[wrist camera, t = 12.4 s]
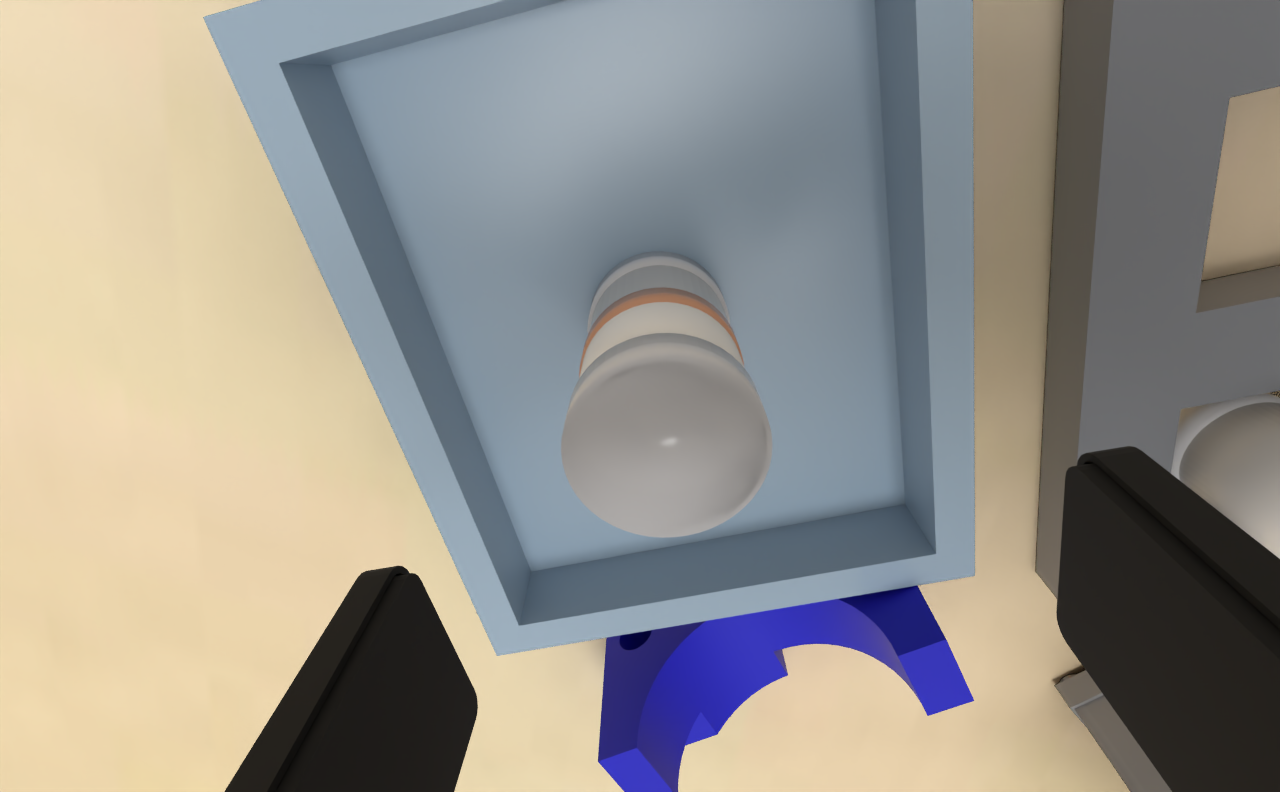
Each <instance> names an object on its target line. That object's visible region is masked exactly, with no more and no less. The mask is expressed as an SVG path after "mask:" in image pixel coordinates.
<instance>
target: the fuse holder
mask: <svg viewBox="0 0 1280 792" xmlns="http://www.w3.org/2000/svg"><path fill="white" fill-rule="evenodd" d="M1278 86H1280V0H1064V20H1063V39H1062V59H1061V79H1060V99H1059V119H1058V139H1057V158H1056V178H1055V198H1054V218H1053V238H1052V258H1051V277H1050V297H1049V317H1048V337H1047V357H1046V377H1045V396H1044V416H1043V436H1042V456H1041V476H1040V495H1039V515H1038V535H1037V555H1036V573H1037V574H1038V575H1039V577H1040V578H1041V579H1042V580H1043V582H1044V583H1045V584H1046V585H1047V587H1048V588H1049V589H1050V590H1051V592H1052V593H1053V594H1054V595H1055V597H1056V598H1057V599H1058V583H1059V567H1060V551H1061V536H1062V520H1063V504H1064V488H1065V476H1066V471H1067V470H1068V468H1070V467H1072V466H1077V462H1078V459H1079V458H1080V456H1081V455H1083V454H1085V453H1089V452H1095V451H1101V450H1107V449H1113V448H1119V447H1126V446H1133V447H1136V448H1138V449H1140V450H1141V451H1143V452H1144V453H1145V454H1147V455H1148V456H1149V457H1150V458H1152V459H1153V460H1154V461H1156V462H1157V463H1158V464H1159V465H1161V466H1162V467H1163V468H1164V469H1166V470H1167V471H1168V472H1170V473H1171V469H1172V463H1173V457H1174V450H1175V444H1176V437H1177V431H1178V425H1179V418H1180V412H1181V409H1185V408H1190V407H1195V406H1201V405H1206V404H1211V403H1217V402H1222V401H1227V400H1233V399H1238V398H1243V397H1249V396H1254V395H1259V394H1265V393H1270V392H1275V391H1280V265H1279V266H1274V267H1269V268H1264V269H1259V270H1254V271H1250V272H1245V273H1240V274H1235V275H1230V276H1225V277H1220V278H1216V279H1211V280H1206V281H1201V278H1202V271H1203V265H1204V258H1205V252H1206V246H1207V239H1208V233H1209V226H1210V220H1211V214H1212V207H1213V201H1214V194H1215V188H1216V182H1217V175H1218V169H1219V162H1220V156H1221V150H1222V143H1223V137H1224V131H1225V124H1226V118H1227V111H1228V105H1229V99H1230V98H1231V97H1235V96H1239V95H1244V94H1248V93H1252V92H1256V91H1261V90H1265V89H1269V88H1274V87H1278Z"/></svg>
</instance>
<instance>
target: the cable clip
mask: <svg viewBox="0 0 1280 792" xmlns="http://www.w3.org/2000/svg"><path fill="white" fill-rule="evenodd" d="M804 644H831V645H839V646H843V647H848V648H852V649H855V650H858V651H861V652H863V653H865V654H868V655H870V656H872V657H874V658H876V659H877V660H879V661H881V662H882V663H884V664H886V665H887V666H888V667H889V668H891V669H892V670H893V671H895V672H896V673H897V674H898V675H899V676H900V677H901V678H902V679H903V680H904V681H905V682H906V683H907V684H908V685H909V687H910V688H911V689H912V690H913V691H914V693H915V694H916V696H917V697H918V699H919V700H920V702H921V703H922V705H923V707H924V709H925V711H926V713H927V715H928V716H929V715H932V714H935V713H938V712H941V711H944V710H947V709H950V708H953V707H956V706H959V705H962V704H966V703H969V702H972V701H974V699H973V697H972V695H971V693H970V691H969V688H968V686H967V684H966V682H965V680H964V677H963V675H962V673H961V671H960V669H959V666H958V664H957V662H956V660H955V658H954V656H953V653H952V651H951V649H950V647H949V645H948V642H947V640H946V638H945V636H944V635H943V633H942V631H941V629H940V627H939V625H938V623H937V621H936V620H935V618H934V616H933V614H932V612H931V610H930V608H929V607H928V605H927V603H926V601H925V599H924V597H923V595H922V594H921V592H920V590H919V588H918V586H911V587H905V588H899V589H893V590H887V591H881V592H875V593H869V594H863V595H857V596H852V597H846V598H840V599H834V600H828V601H822V602H816V603H810V604H804V605H798V606H792V607H786V608H780V609H774V610H768V611H762V612H756V613H750V614H744V615H738V616H732V617H726V618H720V619H714V620H708V621H702V622H696V623H690V624H684V625H679V626H673V627H667V628H661V629H655V630H649V631H643V632H637V633H631V634H625V635H619V636H613V637H607V639H606V654H605V668H604V682H603V697H602V711H601V726H600V740H599V754H598V762H599V763H600V764H601V765H602V767H603V768H604V769H605V770H606V771H607V772H608V773H609V775H610V776H611V777H612V778H613V779H614V780H615V781H616V782H617V784H618V785H619V786H620V787H621V788H622V789H623V790H624V792H678V778H679V769H680V763H681V758H682V754H683V751H684V747H685V745H688V744H691V743H694V742H697V741H700V740H703V739H705V738H708V737H711V736H714V735H717V734H718V732H719V731H720V729H721V728H722V726H723V725H724V724H725V722H726V721H727V720H728V718H729V717H730V716H731V715H732V714H733V712H734V711H735V710H736V709H737V708H738V707H739V706H740V705H741V704H742V703H743V702H744V701H745V700H747V699H748V698H749V697H750V696H751V695H753V694H754V693H756V692H757V691H758V690H760V689H761V688H763V687H765V686H766V685H768V684H770V683H771V682H773V681H776V680H778V679H780V678H782V677H785V676H787V675H788V673H787V669H786V665H785V661H784V656H783V652H782V649H784V648H787V647H791V646H797V645H804Z"/></svg>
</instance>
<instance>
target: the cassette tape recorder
mask: <svg viewBox="0 0 1280 792" xmlns="http://www.w3.org/2000/svg"><path fill="white" fill-rule="evenodd" d="M1054 686H1055V687H1056V689H1057V690H1058V691H1059V693H1060V694H1061V696H1062V697H1063V699H1064V700H1065V702H1066V703H1067V705H1068V706H1069V708H1070V709H1071V710H1072V711H1073V712H1074V714H1075V715H1076V716H1077V717H1078V718H1079V719H1080V720H1081V722H1082V723H1083V724H1084V725H1085V726H1086V727H1087V728H1088V730H1089V731H1090V733H1091V734H1092V736H1093V737H1094V739H1095V740H1096V742H1097V743H1098V745H1099V746H1100V748H1101V749H1102V750H1103V752H1104V753H1105V755H1106V756H1107V758H1108V759H1109V761H1110V762H1111V764H1112V765H1113V767H1114V768H1115V769H1116V771H1117V772H1118V774H1119V775H1120V777H1121V778H1122V780H1123V781H1124V783H1125V784H1126V786H1127V787H1128V788H1129V790H1130V791H1131V792H1172V791H1171V790H1170V788H1169V787H1168V785H1167V784H1166V782H1165V781H1164V780H1163V778H1162V777H1161V775H1160V774H1159V773H1158V771H1157V770H1156V768H1155V767H1154V765H1153V764H1152V763H1151V761H1150V760H1149V758H1148V757H1147V756H1146V754H1145V753H1144V751H1143V750H1142V749H1141V747H1140V746H1139V744H1138V743H1137V741H1136V740H1135V739H1134V737H1133V736H1132V734H1131V733H1130V732H1129V730H1128V729H1127V727H1126V726H1125V725H1124V723H1123V722H1122V720H1121V719H1120V717H1119V716H1118V715H1117V713H1116V712H1115V710H1114V709H1113V708H1112V706H1111V705H1110V703H1109V702H1108V701H1107V699H1106V698H1105V696H1104V695H1103V693H1102V692H1101V691H1100V689H1099V688H1098V686H1097V685H1096V684H1095V682H1094V681H1093V679H1092V678H1091V677H1090V675H1089V674H1088V672H1087V671H1086V670H1085V671H1083V672H1081V673H1079V674H1077V675H1074V674H1072V675H1068V676H1065V677H1064V678H1062V679H1061V680H1060V682H1059V683H1058V684H1056V685H1054Z"/></svg>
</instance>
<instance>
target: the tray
mask: <svg viewBox="0 0 1280 792" xmlns="http://www.w3.org/2000/svg"><path fill="white" fill-rule="evenodd" d="M203 18H204V20H205V23H206V25H207V27H208V29H209V31H210V33H211V36H212V38H213V40H214V42H215V44H216V46H217V49H218V51H219V53H220V55H221V57H222V59H223V62H224V64H225V66H226V68H227V70H228V72H229V75H230V77H231V79H232V81H233V83H234V86H235V88H236V90H237V92H238V94H239V96H240V99H241V101H242V103H243V105H244V107H245V109H246V112H247V114H248V116H249V118H250V120H251V122H252V125H253V127H254V129H255V131H256V133H257V135H258V138H259V140H260V142H261V144H262V146H263V149H264V151H265V153H266V155H267V157H268V159H269V162H270V164H271V166H272V168H273V170H274V172H275V175H276V177H277V179H278V181H279V183H280V185H281V188H282V190H283V192H284V194H285V196H286V199H287V201H288V203H289V205H290V207H291V209H292V212H293V214H294V216H295V218H296V220H297V222H298V225H299V227H300V229H301V231H302V233H303V235H304V238H305V240H306V242H307V244H308V246H309V248H310V251H311V253H312V255H313V257H314V259H315V262H316V264H317V266H318V268H319V270H320V272H321V275H322V277H323V279H324V281H325V283H326V285H327V288H328V290H329V292H330V294H331V296H332V298H333V301H334V303H335V305H336V307H337V309H338V312H339V314H340V316H341V318H342V320H343V322H344V325H345V327H346V329H347V331H348V333H349V335H350V338H351V340H352V342H353V344H354V346H355V348H356V351H357V353H358V355H359V357H360V359H361V361H362V364H363V366H364V368H365V370H366V372H367V375H368V377H369V379H370V381H371V383H372V385H373V388H374V390H375V392H376V394H377V396H378V398H379V401H380V403H381V405H382V407H383V409H384V411H385V414H386V416H387V418H388V420H389V422H390V424H391V427H392V429H393V431H394V433H395V435H396V438H397V440H398V442H399V444H400V446H401V448H402V451H403V453H404V455H405V457H406V459H407V461H408V464H409V466H410V468H411V470H412V472H413V474H414V477H415V479H416V481H417V483H418V485H419V488H420V490H421V492H422V494H423V496H424V498H425V501H426V503H427V505H428V507H429V509H430V511H431V514H432V516H433V518H434V520H435V522H436V524H437V527H438V529H439V531H440V533H441V535H442V537H443V540H444V542H445V544H446V546H447V548H448V551H449V553H450V555H451V557H452V559H453V561H454V564H455V566H456V568H457V570H458V572H459V574H460V577H461V579H462V581H463V583H464V585H465V587H466V590H467V592H468V594H469V596H470V598H471V601H472V603H473V605H474V607H475V609H476V611H477V614H478V616H479V618H480V620H481V622H482V624H483V627H484V629H485V631H486V633H487V635H488V637H489V640H490V642H491V644H492V646H493V648H494V650H495V653H496V655H497V656H500V655H505V654H511V653H517V652H523V651H529V650H535V649H541V648H547V647H553V646H559V645H565V644H571V643H577V642H583V641H589V640H595V639H601V638H607V637H613V636H619V635H625V634H631V633H637V632H643V631H649V630H655V629H661V628H667V627H673V626H679V625H684V624H690V623H696V622H702V621H708V620H714V619H720V618H726V617H732V616H738V615H744V614H750V613H756V612H762V611H768V610H774V609H780V608H786V607H792V606H798V605H804V604H810V603H816V602H822V601H828V600H834V599H840V598H846V597H852V596H857V595H863V594H869V593H875V592H881V591H887V590H893V589H899V588H905V587H911V586H917V585H923V584H929V583H935V582H941V581H947V580H953V579H959V578H965V577H971V576H975V478H974V182H973V0H260V1H257V2H253V3H250V4H246V5H243V6H239V7H236V8H233V9H229V10H226V11H222V12H219V13H215V14H212V15H208V16H205V17H203ZM652 251H664V252H672V253H676V254H680V255H683V256H685V257H688V258H690V259H692V260H694V261H695V262H697V263H698V264H700V265H701V266H702V267H704V268H705V269H706V270H707V271H708V272H709V273H710V274H711V276H712V277H713V278H714V279H715V281H716V283H717V284H718V286H719V288H720V290H721V293H722V295H723V298H724V301H725V303H726V306H727V309H728V313H729V317H730V326H731V327H732V329H733V332H734V334H735V336H736V339H737V342H738V345H739V347H740V350H741V353H742V357H743V361H744V368H745V370H746V371H747V372H748V373H749V375H750V377H751V378H752V380H753V382H754V384H755V386H756V389H757V391H758V393H759V396H760V399H761V402H762V404H763V407H764V410H765V412H766V415H767V418H768V421H769V425H770V429H771V433H772V457H771V462H770V466H769V470H768V472H767V475H766V478H765V480H764V482H763V484H762V485H761V487H760V489H759V491H758V492H757V493H756V495H755V496H754V497H753V499H752V500H751V501H750V502H749V503H748V504H747V505H746V506H745V507H744V508H743V509H742V510H741V511H739V512H738V513H737V514H736V515H735V516H733V517H732V518H730V519H728V520H727V521H725V522H724V523H722V524H720V525H718V526H716V527H713V528H711V529H709V530H706V531H703V532H700V533H696V534H692V535H688V536H680V537H665V538H660V537H648V536H643V535H638V534H634V533H631V532H627V531H624V530H622V529H619V528H617V527H615V526H612V525H611V524H609V523H607V522H605V521H604V520H602V519H601V518H599V517H598V516H597V515H595V514H594V513H593V512H591V511H590V510H589V509H588V508H587V507H586V506H585V505H584V504H583V503H582V502H581V500H580V499H579V498H578V497H577V495H576V494H575V492H574V491H573V489H572V487H571V486H570V484H569V482H568V479H567V477H566V474H565V471H564V467H563V463H562V456H561V439H562V434H563V429H564V424H565V420H566V415H567V411H568V406H569V402H570V398H571V395H572V393H573V390H574V387H575V386H576V384H577V382H578V380H579V370H580V363H581V358H582V354H583V349H584V345H585V341H586V338H587V335H588V332H587V327H588V318H589V314H590V309H591V305H592V300H593V297H594V294H595V292H596V290H597V288H598V286H599V284H600V282H601V281H602V280H603V278H604V277H605V276H606V275H607V273H608V272H609V271H610V270H611V269H613V268H614V267H615V266H616V265H617V264H619V263H621V262H622V261H624V260H625V259H628V258H630V257H632V256H634V255H638V254H641V253H646V252H652Z"/></svg>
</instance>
